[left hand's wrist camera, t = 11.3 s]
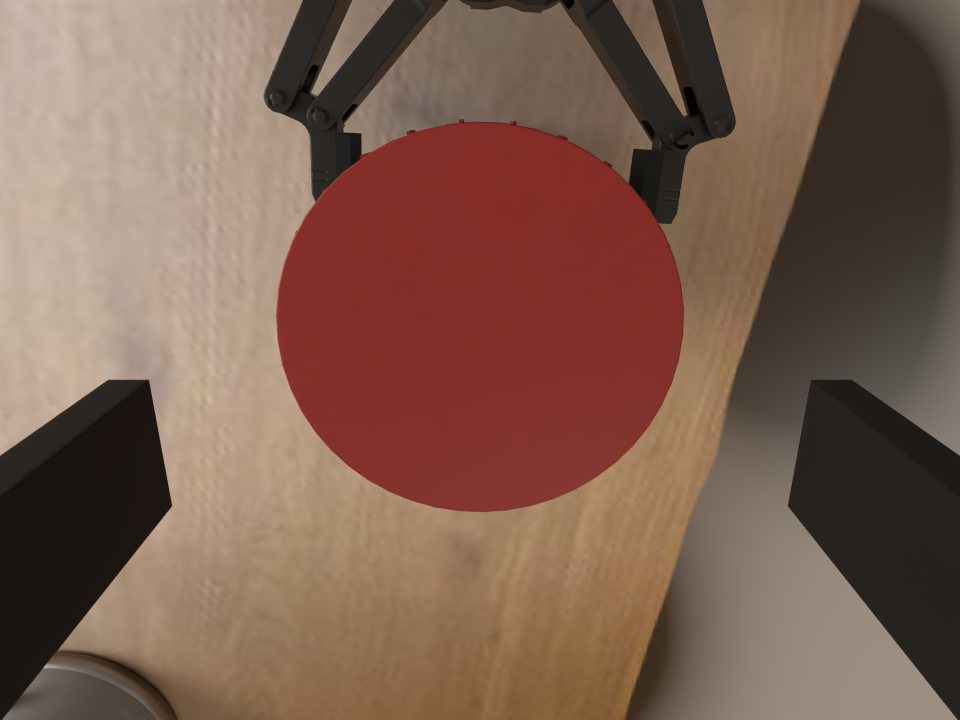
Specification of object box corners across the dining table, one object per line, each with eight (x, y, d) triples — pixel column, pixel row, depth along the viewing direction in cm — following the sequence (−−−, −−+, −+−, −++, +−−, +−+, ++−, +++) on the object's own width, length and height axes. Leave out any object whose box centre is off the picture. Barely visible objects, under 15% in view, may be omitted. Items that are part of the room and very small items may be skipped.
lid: (747, 279, 20) (773, 295, 19) (513, 539, 24) (515, 575, 22) (436, 27, 18) (431, 16, 16) (223, 355, 21) (199, 378, 19)
